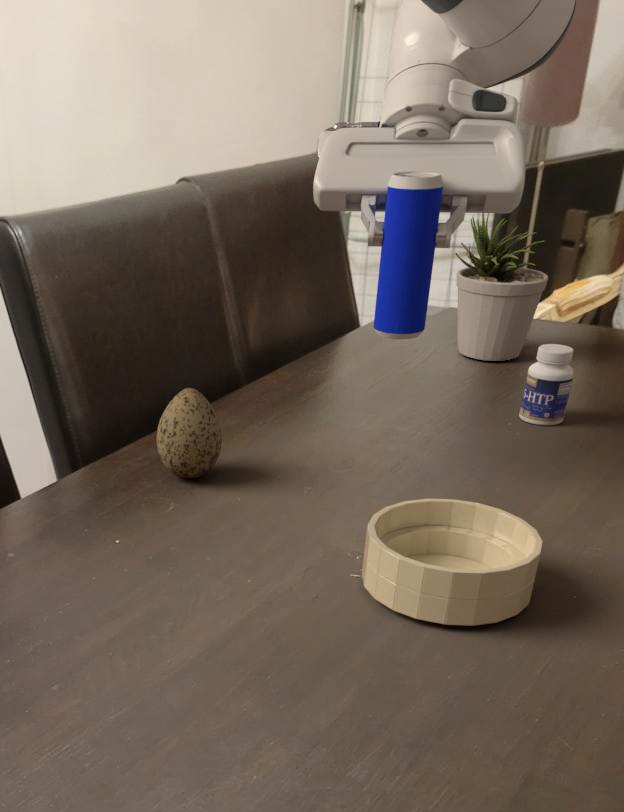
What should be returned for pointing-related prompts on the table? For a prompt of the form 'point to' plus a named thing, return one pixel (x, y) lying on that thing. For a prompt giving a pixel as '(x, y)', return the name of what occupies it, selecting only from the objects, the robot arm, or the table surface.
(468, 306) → the potted plant
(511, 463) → the table surface
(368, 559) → the bowl
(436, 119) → the robot arm
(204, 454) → the decorative egg
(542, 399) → the pill bottle
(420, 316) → the beverage can
